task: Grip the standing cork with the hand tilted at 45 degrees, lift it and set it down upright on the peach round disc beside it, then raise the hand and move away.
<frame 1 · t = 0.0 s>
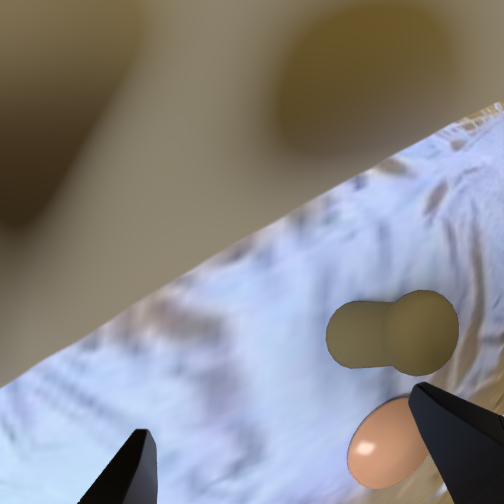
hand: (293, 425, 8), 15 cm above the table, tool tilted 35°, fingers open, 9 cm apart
peach round disc: (392, 444, 21), on the table
cork: (356, 334, 24), on the table
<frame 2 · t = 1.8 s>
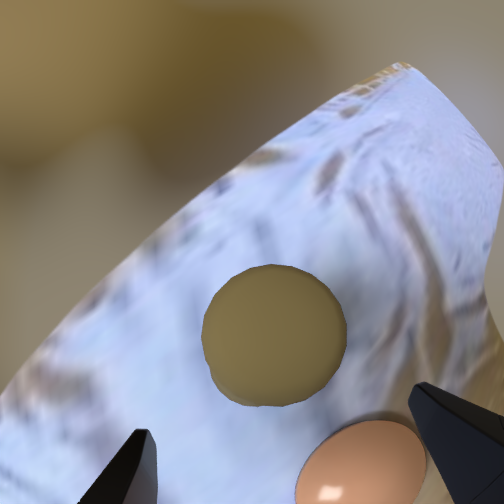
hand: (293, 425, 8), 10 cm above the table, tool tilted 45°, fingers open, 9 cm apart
peach round disc: (363, 482, 14), on the table
cork: (254, 363, 19), on the table
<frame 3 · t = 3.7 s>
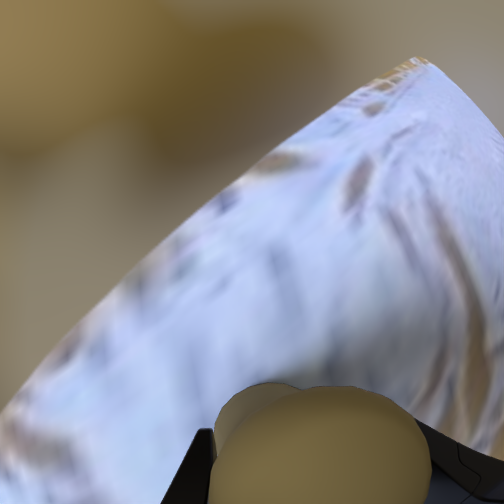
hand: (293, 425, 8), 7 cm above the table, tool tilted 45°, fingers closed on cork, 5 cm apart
cork: (270, 435, 13), on the table, touching gripper
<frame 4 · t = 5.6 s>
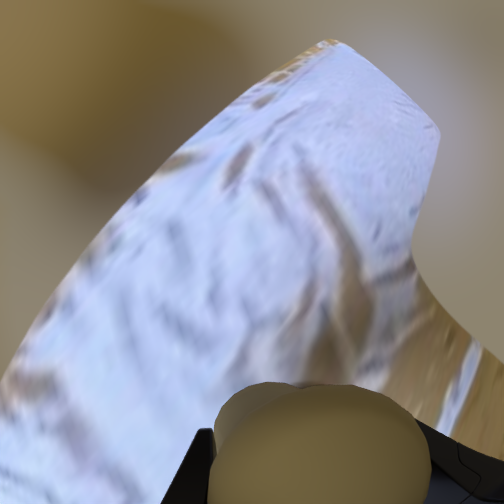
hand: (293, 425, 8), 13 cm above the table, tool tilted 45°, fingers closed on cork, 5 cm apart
cork: (270, 434, 13), point 7 cm above the table, touching gripper
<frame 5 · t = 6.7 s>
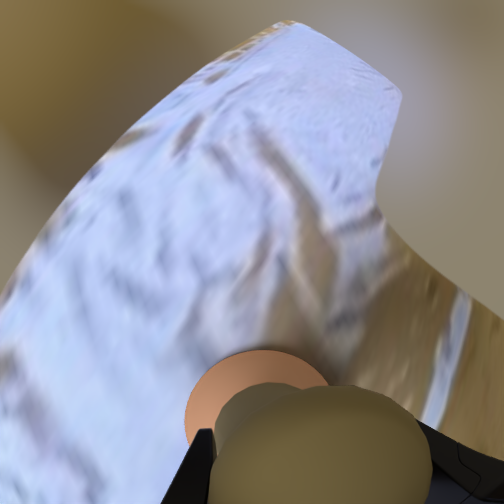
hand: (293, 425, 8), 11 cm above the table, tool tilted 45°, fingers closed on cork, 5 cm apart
peach round disc: (262, 422, 17), on the table
cork: (270, 434, 13), point 4 cm above the table, touching gripper
when the fingers open (8 cm above the table, at t = 7.6 s): cork stays where it is, resting on peach round disc.
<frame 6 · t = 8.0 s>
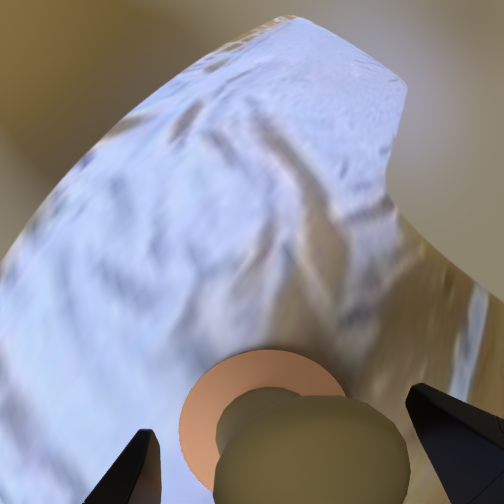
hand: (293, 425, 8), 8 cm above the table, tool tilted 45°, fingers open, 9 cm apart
peach round disc: (267, 431, 15), on the table
cork: (269, 436, 14), point 1 cm above the table, touching peach round disc
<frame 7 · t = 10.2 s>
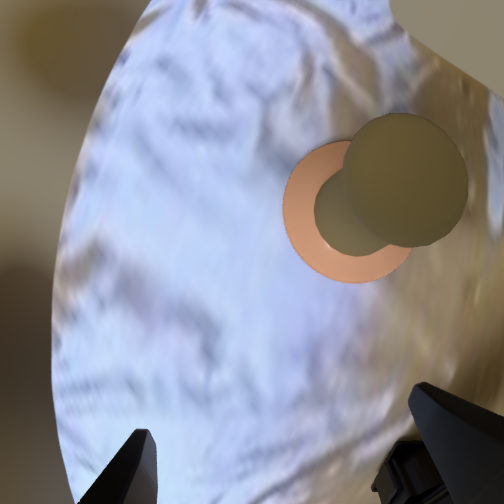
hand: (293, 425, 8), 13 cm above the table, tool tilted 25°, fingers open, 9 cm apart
peach round disc: (353, 211, 20), on the table
cork: (356, 212, 19), point 1 cm above the table, touching peach round disc
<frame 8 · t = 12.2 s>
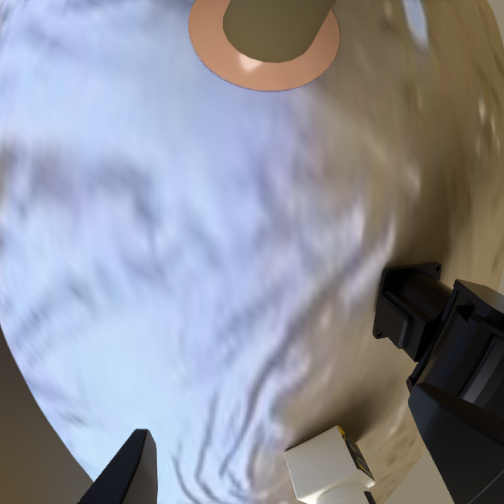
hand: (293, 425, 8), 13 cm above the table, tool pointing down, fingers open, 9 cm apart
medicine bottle: (321, 446, 29), on the table
peach round disc: (265, 27, 15), on the table
cork: (269, 25, 15), point 1 cm above the table, touching peach round disc
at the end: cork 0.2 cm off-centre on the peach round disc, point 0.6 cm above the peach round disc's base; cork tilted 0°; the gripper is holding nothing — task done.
